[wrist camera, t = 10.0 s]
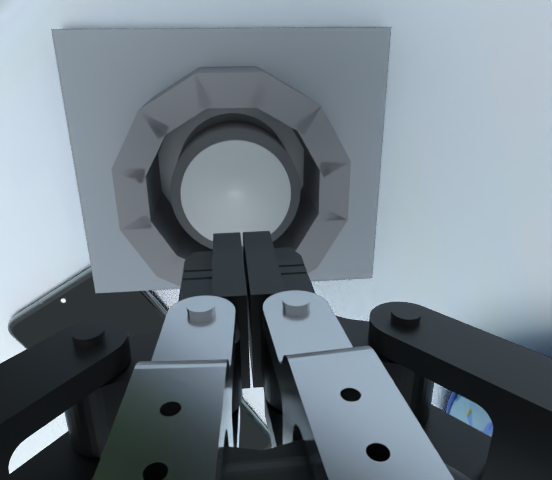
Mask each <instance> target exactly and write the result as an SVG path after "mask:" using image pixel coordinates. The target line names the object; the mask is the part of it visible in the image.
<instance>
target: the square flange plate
mask: <svg viewBox="0 0 552 480" xmlns="http://www.w3.org/2000/svg"><path fill="white" fill-rule="evenodd" d="M51 30H52V36H53V42H54V48H55V54H56V60H57V66H58V72H59V78H60V84H61V90H62V96H63V102H64V108H65V114H66V120H67V126H68V132H69V138H70V144H71V150H72V155H73V161H74V167H75V173H76V179H77V185H78V191H79V197H80V203H81V209H82V215H83V221H84V227H85V233H86V239H87V245H88V251H89V257H90V263H91V269H92V275H93V281H94V287H95V293H111V292H129V291H147V290H165V289H180V288H181V281H182V275H183V268H184V262H185V260H186V259H187V258H188V257H189V256H190V255H191V254H192V253H194V252H206V251H213V249H210V248H208V247H206V246H204V245H202V244H200V243H199V242H197V241H196V240H195V239H193V238H192V237H191V236H190V235H189V234H188V233H187V232H186V231H185V230H184V228H183V227H182V226H181V224H180V223H179V221H178V219H177V217H176V215H175V213H174V210H173V207H172V202H171V195H170V187H171V179H172V175H173V172H174V169H175V166H176V163H177V160H178V158H179V155H180V152H181V149H182V147H183V145H184V142H185V141H186V139H187V137H188V136H189V135H190V133H191V132H192V131H193V130H194V129H195V128H196V127H197V126H198V125H199V124H201V123H202V122H204V121H205V120H207V119H209V118H211V117H214V116H217V115H221V114H227V113H240V114H245V115H249V116H252V117H255V118H257V119H259V120H261V121H262V122H264V123H265V124H267V125H268V126H269V127H270V128H271V129H272V130H273V131H274V132H275V133H276V134H277V136H278V137H279V138H280V140H281V142H282V143H283V145H284V147H285V149H286V151H287V152H288V154H289V156H290V158H291V159H292V161H293V163H294V165H295V167H296V170H297V173H298V176H299V181H300V201H299V206H298V209H297V212H296V215H295V217H294V219H293V221H292V222H291V224H290V225H289V227H288V228H287V229H286V231H285V232H284V233H283V234H282V235H281V236H280V237H279V238H277V239H276V240H275V241H273V245H274V248H286V247H290V248H292V249H293V250H295V251H296V252H297V253H299V254H300V255H301V257H302V259H303V262H304V266H305V267H306V270H307V274H308V275H309V278H310V281H327V280H345V279H363V278H372V273H373V260H374V247H375V234H376V220H377V207H378V194H379V181H380V167H381V154H382V141H383V128H384V114H385V101H386V88H387V75H388V61H389V48H390V35H391V27H322V28H170V29H51ZM243 262H244V260H243Z"/></svg>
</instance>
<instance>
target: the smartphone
mask: <svg viewBox="0 0 552 480" xmlns="http://www.w3.org/2000/svg"><path fill="white" fill-rule="evenodd" d="M166 315H167V311H166V309H165V308H164V307H163V306H162V305H161V304H160V302H159V301H158V300H157V299H156V298H155V297H154V296H153V295H152V294H151V293H150V292H149V290H147V291H129V292H111V293H95V287H94V281H93V275H92V269H91V267H90V268H88V269H86V270H85V271H83V272H82V273H80V274H79V275H77V276H75V277H74V278H72V279H71V280H69V281H68V282H66V283H64V284H63V285H61V286H60V287H58V288H57V289H55V290H53V291H52V292H50V293H49V294H47V295H46V296H44V297H42V298H41V299H39V300H38V301H36V302H35V303H33V304H31V305H30V306H28V307H27V308H25V309H24V310H22V311H20V312H19V313H17V314H16V315H14V316H13V317H12V318H11V320H10V321H9V323H8V331H9V333H10V334H11V335H12V336H13V337H14V338H15V339H16V340H17V341H18V342H19V343H20V344H21V345H22V346H24V347H25V348H26V349H28V348H30V347H32V346H34V345H36V344H37V343H39V342H41V341H43V340H45V339H47V338H48V337H50V336H52V335H54V334H56V333H58V332H60V331H61V330H63V329H65V328H67V327H69V326H71V325H74V324H76V323H80V322H83V321H88V320H94V319H109V320H114V321H117V322H120V323H122V324H123V325H124V326H125V327H126V328H127V331H128V337H131V336H135V335H139V334H143V333H147V332H150V331H153V330H156V329H158V328H160V327H162V326H163V324H164V321H165V318H166ZM239 448H246V449H255V450H266V449H270V448H272V443H271V439H270V435H269V430H268V428H267V427H266V426H265V424H264V423H263V422H262V421H261V420H260V419H259V418H258V416H257V415H256V414H255V413H254V412H253V411H252V409H251V408H250V407H249V406H248V405H247V404H246V403H245V401H244V400H243V399H242V402H241V404H240V432H239Z"/></svg>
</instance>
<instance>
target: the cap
mask: <svg viewBox="0 0 552 480" xmlns="http://www.w3.org/2000/svg"><path fill="white" fill-rule="evenodd" d="M170 195H171V202H172V207H173V210H174V213H175V215H176V217H177V219H178V221H179V223H180V224H181V226H182V227H183V228H184V230H185V231H186V232H187V233H188V234H189V235H190V236H191V237H192V238H193V239H195V240H196V241H197V242H199V243H200V244H202V245H204V246H206V247H208V248H210V249H213V233H234V232H240V234H241V243H242V252H243V232H255V231H270V234H271V238H272V242H273V241H275V240H276V239H277V238H279V237H280V236H281V235H282V234H283V233H284V232H285V231H286V229H287V228H288V227H289V225H290V224H291V222H292V221H293V219H294V217H295V215H296V212H297V209H298V206H299V201H300V181H299V176H298V173H297V170H296V167H295V165H294V163H293V161H292V159H291V158H290V156H289V154H288V152H287V151H286V149H285V147H284V145H283V143H282V142H281V140H280V138H279V137H278V136H277V134H276V133H275V132H274V131H273V130H272V129H271V128H270V127H269V126H268V125H267V124H265V123H264V122H262V121H261V120H259V119H257V118H255V117H252V116H249V115H245V114H240V113H227V114H221V115H217V116H214V117H211V118H209V119H207V120H205V121H204V122H202V123H201V124H199V125H198V126H197V127H196V128H195V129H194V130H193V131H192V132H191V133H190V135H189V136H188V137H187V139H186V141H185V142H184V145H183V147H182V149H181V152H180V155H179V158H178V160H177V163H176V166H175V169H174V172H173V175H172V179H171V187H170Z"/></svg>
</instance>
